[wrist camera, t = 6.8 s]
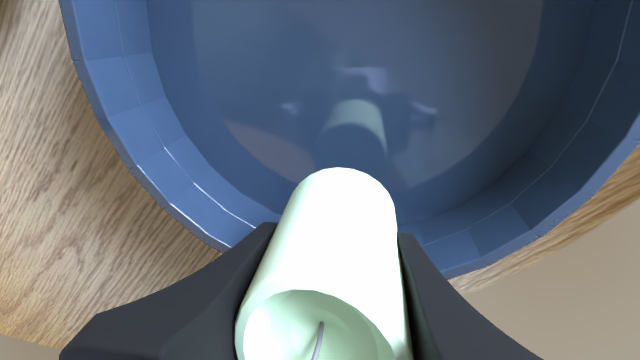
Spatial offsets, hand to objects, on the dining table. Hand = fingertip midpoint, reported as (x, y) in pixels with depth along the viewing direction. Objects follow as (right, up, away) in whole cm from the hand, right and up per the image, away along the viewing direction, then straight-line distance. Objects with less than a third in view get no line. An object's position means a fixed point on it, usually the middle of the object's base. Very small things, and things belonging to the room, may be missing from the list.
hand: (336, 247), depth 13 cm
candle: (0, +1, +2) cm, 3 cm away
